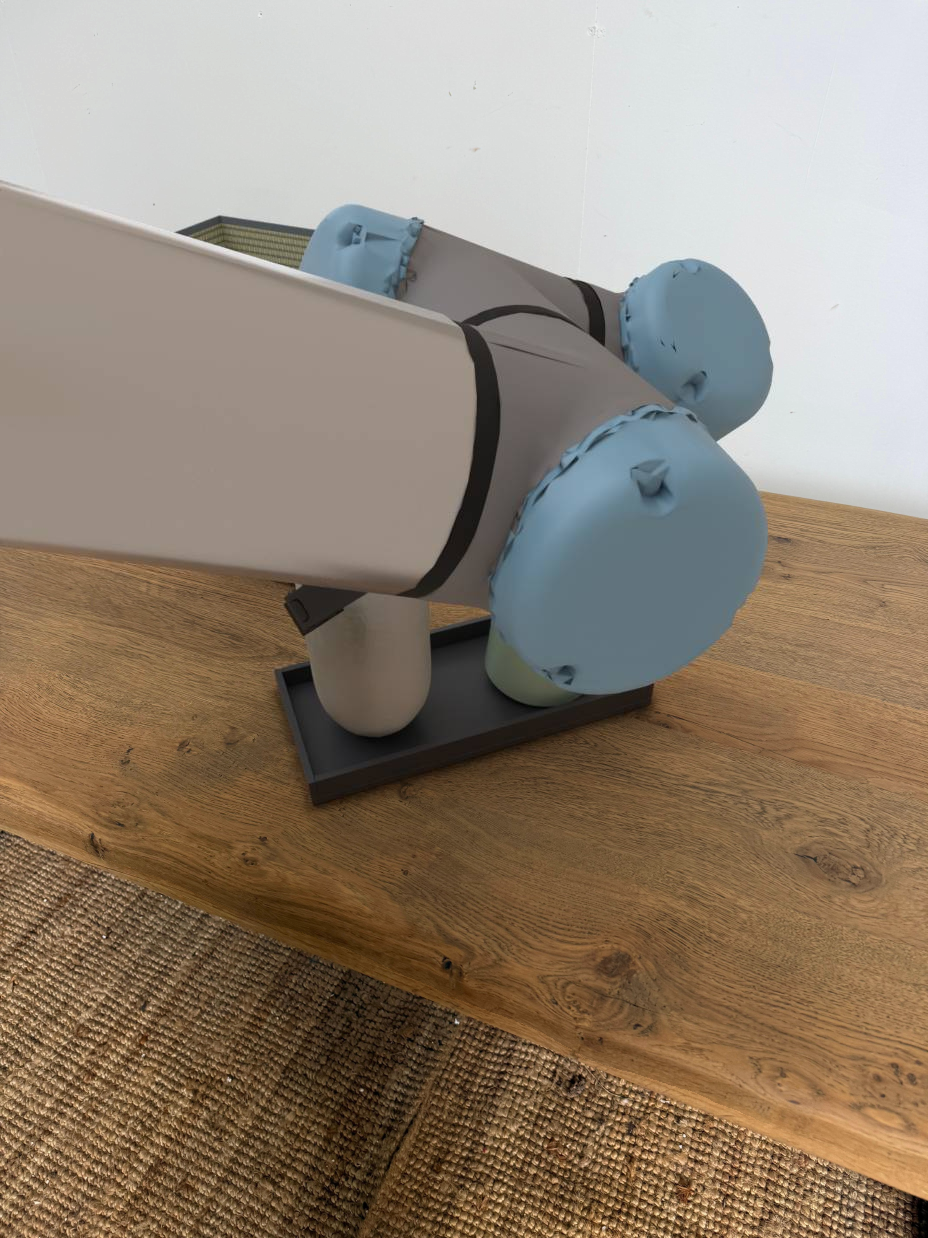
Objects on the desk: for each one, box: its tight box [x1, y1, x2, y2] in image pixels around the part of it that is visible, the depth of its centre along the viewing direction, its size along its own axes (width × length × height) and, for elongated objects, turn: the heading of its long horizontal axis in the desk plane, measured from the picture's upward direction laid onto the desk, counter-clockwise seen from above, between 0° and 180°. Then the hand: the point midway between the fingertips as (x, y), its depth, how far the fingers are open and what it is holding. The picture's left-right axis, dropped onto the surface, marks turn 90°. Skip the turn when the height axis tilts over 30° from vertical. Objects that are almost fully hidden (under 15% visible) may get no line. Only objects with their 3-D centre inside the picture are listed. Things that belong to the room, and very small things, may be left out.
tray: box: [273, 613, 655, 806], centre depth 78 cm, size 31×14×3 cm, turn 111°
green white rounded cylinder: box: [294, 583, 431, 737], centre depth 68 cm, size 10×10×28 cm
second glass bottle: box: [485, 620, 582, 707], centre depth 71 cm, size 10×10×28 cm
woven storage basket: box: [174, 214, 316, 270], centre depth 88 cm, size 18×14×33 cm
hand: (369, 576), depth 66 cm, fingers open, 13 cm apart
